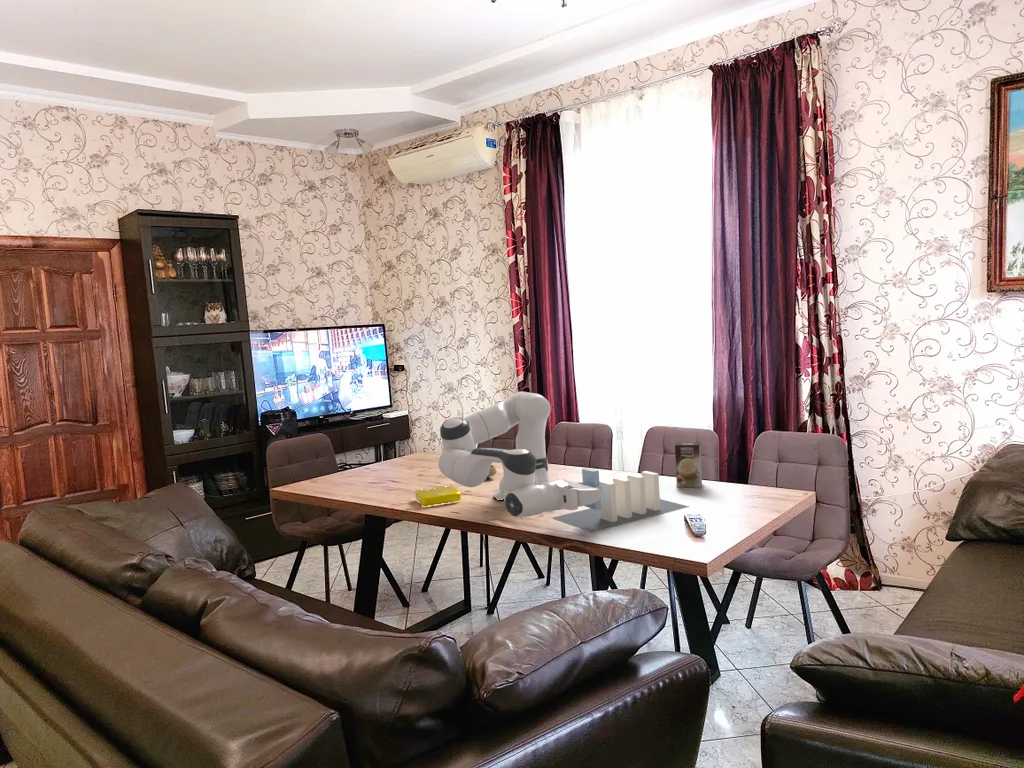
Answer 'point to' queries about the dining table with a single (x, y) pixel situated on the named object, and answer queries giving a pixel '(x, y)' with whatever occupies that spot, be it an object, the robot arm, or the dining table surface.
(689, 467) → the coffee box
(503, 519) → the dining table surface
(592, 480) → the blue domino
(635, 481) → the domino
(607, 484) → the domino
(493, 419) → the robot arm
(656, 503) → the domino
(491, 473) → the oil lamp
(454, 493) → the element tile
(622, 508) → the domino
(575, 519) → the rubber mat
